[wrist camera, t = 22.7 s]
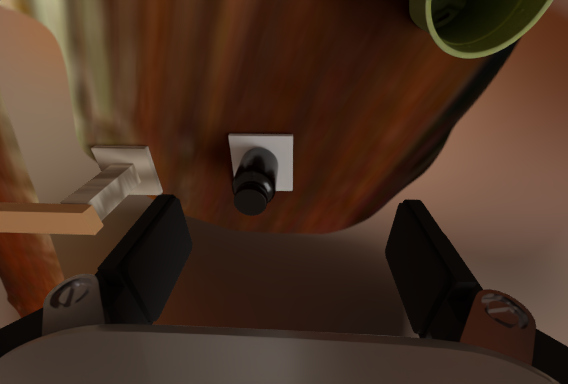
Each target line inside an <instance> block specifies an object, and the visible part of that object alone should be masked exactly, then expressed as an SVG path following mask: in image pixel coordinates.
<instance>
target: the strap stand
mask: <svg viewBox="0 0 568 384" xmlns="http://www.w3.org/2000/svg"><path fill="white" fill-rule="evenodd" d="M91 150H92V152H93V154H94V156H95V158H96V161H97V163H98V165H99V167H100V169H101V171H102V172H101V173H100V174H98V175H97V176H95V177H94V178H93V179H91V180H90V181H89V182H87V183H86V184H85V185H83V186H82V187H81V188H79V189H78V190H77V191H75V192H74V193H73V194H71V195H70V196H69V197H67V198H66V199H65V200H63V201H62V202H61V204H86V205H93V207H94V209H95V211H96V212H97V214H98V216H99V218H100V220H101V221H102V220H103V219H104V218H105V217H106V216H107V215H108V214H109V213H110V212H111V211H112V210H113V209H114V208H115V207H116V206H117V205H118V204H119V203H120V202H121V201H122V200H123V199H124V198H125V197H126V196H127V195H128V194H133V195H138V194H139V195H160V194H161V193H162V192H163V191H162V188H161V185H160V182H159V179H158V176H157V173H156V170H155V166H154V163H153V160H152V157H151V154H150V151H149V148H148V146H94V147H92V148H91Z"/></svg>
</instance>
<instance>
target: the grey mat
mask: <svg viewBox="0 0 568 384" xmlns="http://www.w3.org/2000/svg"><path fill="white" fill-rule="evenodd" d="M228 137H229V144H230V151H231V158H232V165H233V173H234V176H235V174H236V171H237V169H238V166H239V164H240V161H241V159H242V157H243V155H244V154H245V153H246V152H247V151H248V150H250V149H252V148H265V149H267V150H269V151H271V152H272V153H273V154H274V155H275V157H276V158H277V161H278V176H277V184H276V191H292V188H293V134H229V136H228Z"/></svg>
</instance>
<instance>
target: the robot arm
mask: <svg viewBox="0 0 568 384" xmlns="http://www.w3.org/2000/svg"><path fill="white" fill-rule="evenodd" d="M191 250H192V241H191V237H190V234H189V231H188V227H187V224H186V220H185V217H184V213H183V210H182V207H181V203H180V200H179V199H178V198H176V197H175V196H174V195H167V194H160V195H158V196H157V197H156V198H155V200H154V201H153V202H152V203H151V205H150V206H149V207H148V208H147V209H146V211H145V212H144V213H143V214H142V216H141V217H140V218H139V219H138V220H137V221H136V223H135V224H134V225H133V226H132V227H131V229H130V230H129V231H128V232H127V233H126V235H125V236H124V237H123V238H122V240H121V241H120V242H119V243H118V244H117V246H116V247H115V248H114V249H113V250H112V251H111V253H110V254H109V255H108V256H107V257H106V259H105V260H104V261H103V263H101V265H100V266H99V267H98V272H97V273H96V274H95V275H92V274H81V275H77V276H74V277H71V278H69V279H67V280H65V281H63V282H62V283H60V284H59V285H57V286H56V287H55V288H54V289H53V290H52V291H51V292H50V293H49V294H48V295H47V297H46V298H45V301H44V305H43V308H41V309H39V310H37V311H35V312H33V313H31V314H29V315H27V316H25V317H23V318H21V319H19V320H17V321H15V322H13V323H11V324H9V325H7V326H5V327H3V328H1V329H0V384H568V347H567V346H566V345H564V344H562V343H560V342H558V341H557V340H555V339H553V338H551V337H550V336H548V335H546V334H545V333H543V332H541V331H539V330H537V329H536V323H535V319H534V318H533V316H532V314H531V313H530V311H529V310H528V309H527V308H526V307H525V306H524V305H523V304H522V303H520V302H519V301H518V300H516V299H515V298H513V297H511V296H510V295H508V294H505V293H503V292H500V291H497V290H491V289H486V290H483V289H482V287H481V286H480V284H479V283H478V281H477V280H476V278H475V277H474V276H473V274H472V273H471V271H470V270H469V268H468V267H467V265H466V264H465V262H464V261H463V260H462V258H461V257H460V255H459V254H458V252H457V251H456V249H455V248H454V246H453V245H452V244H451V242H450V241H449V239H448V238H447V236H446V235H445V234H444V233H443V232H442V231H441V229H440V228H439V226H438V224H437V223H436V222H435V220H434V219H433V217H432V216H431V214H430V213H429V211H428V210H427V208H426V207H425V205H424V204H423V203H422V201H420V200H404V201H403V203H399V205H398V208H397V211H396V215H395V218H394V221H393V225H392V228H391V232H390V235H389V238H388V242H387V246H386V249H385V254H386V259H387V261H388V264H389V267H390V270H391V272H392V275H393V278H394V280H395V283H396V286H397V289H398V291H399V294H400V297H401V300H402V302H403V305H404V308H405V310H406V313H407V316H408V319H409V321H410V324H411V327H412V329H413V331H414V333H416V334H419V337H420V338H411V337H397V336H381V335H363V334H345V333H325V332H306V331H286V330H266V329H245V328H223V327H199V326H176V325H152V323H153V322H154V321H156V320H157V319H158V318H159V317H160V314H161V312H162V310H163V308H164V306H165V304H166V302H167V300H168V298H169V296H170V293H171V292H172V289H173V288H174V285H175V283H176V281H177V279H178V277H179V275H180V273H181V271H182V268H183V267H184V265H185V263H186V261H187V259H188V256H189V254H190V252H191Z"/></svg>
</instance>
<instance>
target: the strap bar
mask: <svg viewBox="0 0 568 384" xmlns="http://www.w3.org/2000/svg"><path fill="white" fill-rule="evenodd" d="M102 227H103V224H102V222H101V220H100V218H99V216H98V214H97V212H96V211H95V209H94V207H93V205H86V204H44V203H1V202H0V232H15V233H48V234H82V235H83V234H84V235H95V234H96V233H97V232H98V231H99V230H100V229H101V228H102Z"/></svg>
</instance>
